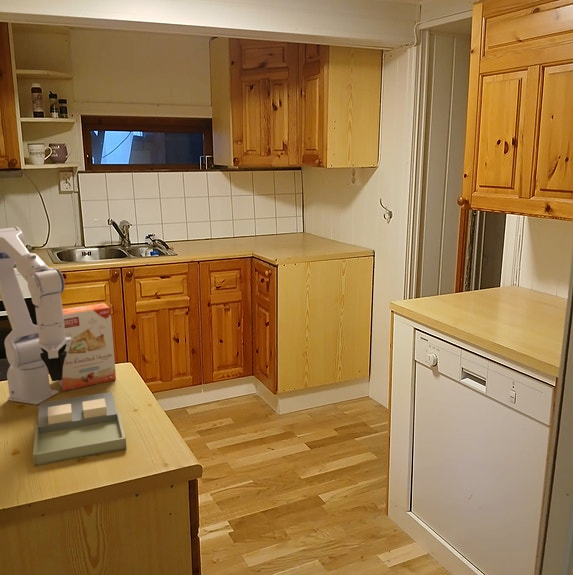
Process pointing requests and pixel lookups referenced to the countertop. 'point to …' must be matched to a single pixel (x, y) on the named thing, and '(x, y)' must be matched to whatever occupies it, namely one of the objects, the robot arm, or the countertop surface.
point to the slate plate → (76, 413)
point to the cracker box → (88, 346)
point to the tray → (78, 442)
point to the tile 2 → (94, 408)
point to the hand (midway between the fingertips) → (56, 377)
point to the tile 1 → (59, 414)
